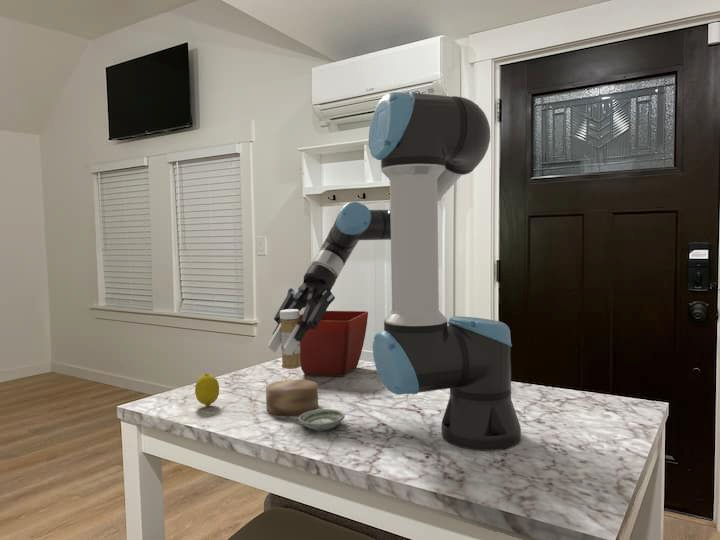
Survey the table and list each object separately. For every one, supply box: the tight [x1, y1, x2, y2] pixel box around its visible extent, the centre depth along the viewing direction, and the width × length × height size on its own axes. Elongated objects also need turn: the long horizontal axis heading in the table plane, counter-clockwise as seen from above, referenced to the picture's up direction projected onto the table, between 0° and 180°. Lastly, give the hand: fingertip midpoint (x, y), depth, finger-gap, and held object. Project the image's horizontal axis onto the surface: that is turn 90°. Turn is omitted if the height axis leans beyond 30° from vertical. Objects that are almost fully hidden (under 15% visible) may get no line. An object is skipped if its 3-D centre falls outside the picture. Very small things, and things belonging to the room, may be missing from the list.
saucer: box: [298, 408, 345, 432], centre depth 111 cm, size 10×10×2 cm
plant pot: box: [299, 310, 369, 377], centre depth 158 cm, size 19×19×17 cm
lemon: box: [194, 373, 220, 407], centre depth 126 cm, size 6×6×8 cm
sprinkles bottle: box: [280, 309, 301, 370], centre depth 124 cm, size 5×5×14 cm
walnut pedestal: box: [265, 379, 319, 417], centre depth 124 cm, size 12×12×5 cm
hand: (279, 350), depth 121 cm, fingers closed on sprinkles bottle, 4 cm apart
